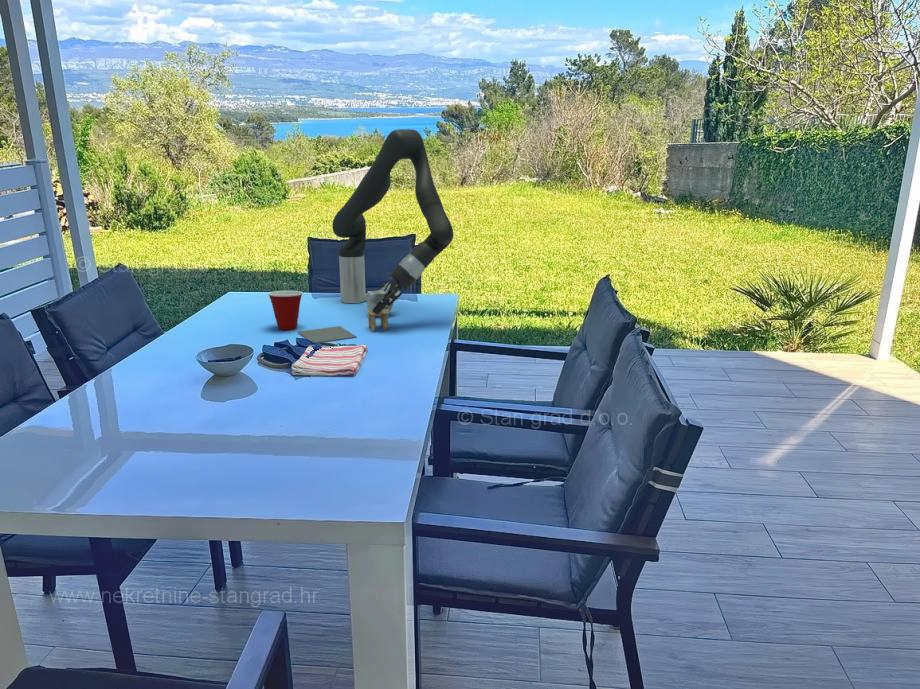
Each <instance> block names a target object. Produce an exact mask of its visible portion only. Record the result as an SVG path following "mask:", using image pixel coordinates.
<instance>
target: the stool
mask: <svg viewBox="0 0 920 689" xmlns="http://www.w3.org/2000/svg"><path fill="white" fill-rule="evenodd" d="M384 293H385V291H380V290H378V289H377V290H368V291H367V292H366V295H367V301H366V303H367V314H368V317H367V318H368V329H371V332H377V320H376V319H377V317H376V314H375V313H374V312H373V309H374V308H375V307H376V305H377V304H378V303H379V302H380V301H381V300H382V298H383V297H384ZM387 294H388V293H387ZM379 314H380V316H381V317H380V328H383V330H384V331H389V314H390V313H389V309H388V306H387V307H386V306H385V308H384V309H383V310H382V311H381V312H380V313H379Z"/></svg>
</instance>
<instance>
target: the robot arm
mask: <svg viewBox="0 0 920 689" xmlns="http://www.w3.org/2000/svg"><path fill="white" fill-rule="evenodd" d="M377 154H378V155H377V156H376V158H375V160H374V161H373V162H372V164H371V166H370V167H369V169H368V171H367V172H366V173H365V174H364V176H363V177H362V179H361V180H360V182H359V183H358V185H357V187H356V189H355V190H354V192H353V193H352V194H351V195H350V197H349V199H348V200H347V201H346V202H345V204H344V205H343V206H342V207H341V208H340V209H339V210H338V211H337V213H336V214H335V215H334V218H333V220H332V225H331V226H332V231H333V234H334V235H336V237H338V238H342V239H346V238H347V239H348V240H347V242H346V243H345V244H344V245H341V247H339V249H338V259H339V260H338V262H339V278H340V279H339V280H340V281H339V284H340V285H339V286H340V302H341V303H345V304H359V303H364V302H367V301H366V274H365V272H366V271H365V270H366V266H365V250H366V245H367V244H366V243H367V242H366V239H367V238H366V237H367V222H366V218H365V216H364V215H363V214H364V213H366V212H368V211H370V210H371V209H372V208H374V207H375V206H376V205H378V204H379V203H380V202H381V201H382V200H383V199H384V197H385V196H386V195H387V193H388V192H389V189H390V187H391V184H392V183H391V181H392V180H391V179H392V178H391V172H392V170H393V168H394V167H395V166H396V164H398V162H399V161H401V160H410V162H411V163H412V165H413V168H414V171H415V185H414V186H415V188H414V193H415V197H416V198H415V199H416V201H417V204H418V206H419V208H420V211H421V213H422V215H423V217H424V218H425V221H426V223H427V226H428V228H429V231H430V234H428V236H427V237H426V238H425V239H424V240H423V241H421V242H419V243H418V244H417V245H416V246H414V248H413V249H412V250H411V251H409V253H408V254H407V255H406V256H405V257H404V258H402V260H401V261H400V262H399V263H398V264H397V265H396V266H395V267H394V268H393V269H392V271H391V272H390V273H389V276H390V277H391V278H392V279H391V280H389V281H388V280H384V282H383V283H382V284H381V286H380V287H379V288H378V289H377V291H378V290H380V291H385V293H384V297H383V298H382V300H381V301H380V302H379V303H378V304H377V305H376V307H375V308H374V309H373V312H374V313H375V314H376V315H378V314H379V313H380V312H381V311H382V310H383V309H384V308H385V306H386V307H387V306H391V305H392V304H393V305H394V302H396V301H397V300H398V299H399V298H400V297H401V296H402V295H403V292H401V290H402V289H404V290H409V288H410V287H412V285H413V284H414V283H415V282H416V281H417V280H418V279H419V278H420V276H421V275H422V274H423V272H424V271H425V270H426V268H428V267H429V265H431V263H432V262H433V261H434V260H435V259H436V257H437V256H438V255H440V253H442V252H443V251H445V249H446V248H447V247H448V246H450V244H451V243H452V241H453V239H454V229H453V226H452V223H451V221H450V219H449V217H448V215H447V213H446V212H445V209H444V205H443V202H442V200H441V198H440V196H439V193H438V190H437V188H436V184H435V183H434V179H433V175H432V172H431V168H430V162H429V158H428V155H427V151H426V146H425V143H424V138H423V137H422V135H421V134H420V132H419V131H418V130H416V129H413V128H412V129H411V128H410V129H409V128H408V129H407V128H405V129H400V128H399V129H393V130H392V131H391V132H390V133H389V134H388V135H387V136H386V138H385V140H384V142H383V144H382V146H381V148H380V150H379V152H378V153H377ZM387 293H388V294H387Z"/></svg>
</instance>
